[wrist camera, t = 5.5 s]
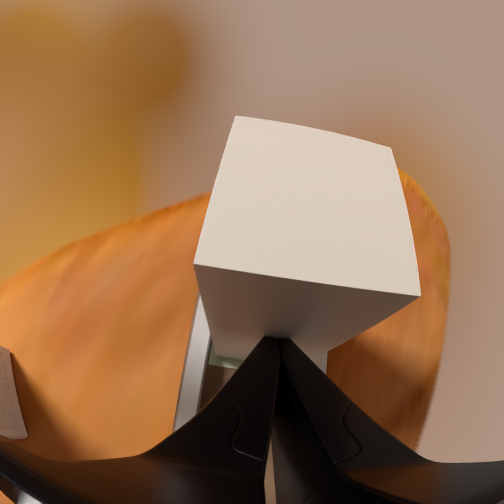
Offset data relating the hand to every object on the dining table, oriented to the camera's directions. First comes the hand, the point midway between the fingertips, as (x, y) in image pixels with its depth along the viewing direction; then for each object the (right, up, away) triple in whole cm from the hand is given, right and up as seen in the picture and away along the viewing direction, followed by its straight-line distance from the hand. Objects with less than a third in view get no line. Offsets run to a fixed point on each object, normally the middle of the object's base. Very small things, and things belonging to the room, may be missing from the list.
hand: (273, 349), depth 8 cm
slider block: (0, -1, +6) cm, 6 cm away
